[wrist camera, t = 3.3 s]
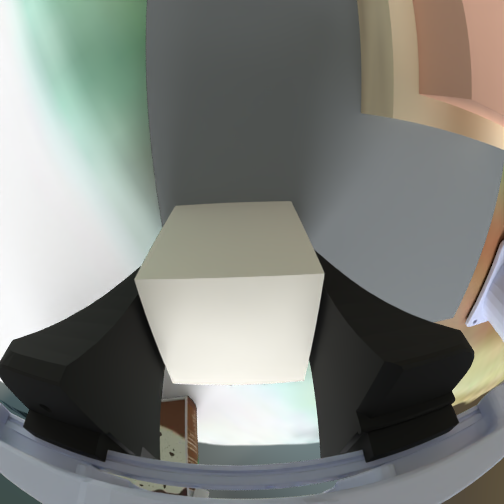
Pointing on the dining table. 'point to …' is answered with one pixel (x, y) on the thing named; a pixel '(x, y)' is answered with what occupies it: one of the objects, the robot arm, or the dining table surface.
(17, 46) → the dining table surface
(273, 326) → the top block
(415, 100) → the bottom slab
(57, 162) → the dining table surface
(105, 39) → the dining table surface
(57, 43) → the dining table surface
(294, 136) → the mat
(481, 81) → the middle block
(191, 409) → the food container
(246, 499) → the robot arm
